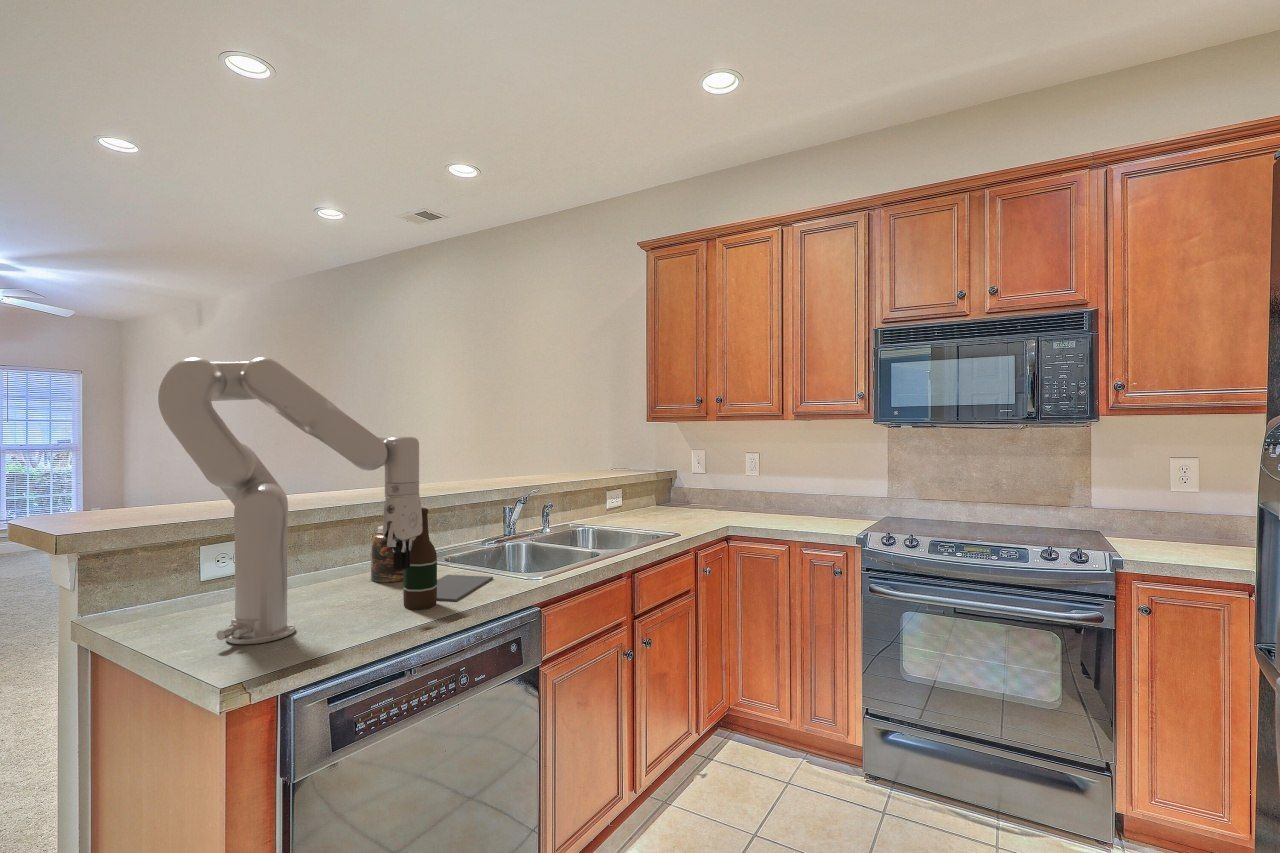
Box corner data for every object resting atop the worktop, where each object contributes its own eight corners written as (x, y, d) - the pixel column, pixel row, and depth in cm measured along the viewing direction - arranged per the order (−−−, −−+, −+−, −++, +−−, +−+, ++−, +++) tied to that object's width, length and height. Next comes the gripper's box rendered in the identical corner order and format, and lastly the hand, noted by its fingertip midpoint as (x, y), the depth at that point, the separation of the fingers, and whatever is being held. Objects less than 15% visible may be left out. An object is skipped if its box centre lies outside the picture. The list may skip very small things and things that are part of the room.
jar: (376, 574, 188) (376, 523, 188) (417, 572, 190) (417, 522, 190) (366, 583, 177) (366, 530, 177) (410, 582, 179) (410, 529, 179)
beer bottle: (443, 603, 157) (443, 507, 157) (420, 611, 150) (421, 511, 150) (419, 599, 160) (420, 505, 160) (396, 607, 153) (396, 509, 153)
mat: (456, 601, 159) (456, 599, 159) (404, 598, 161) (404, 596, 161) (492, 578, 183) (492, 576, 183) (447, 576, 185) (447, 574, 185)
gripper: (399, 493, 139) (399, 576, 139) (432, 486, 153) (432, 562, 153) (368, 492, 140) (368, 575, 140) (404, 486, 155) (404, 561, 155)
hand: (401, 568), depth 147 cm, fingers closed
